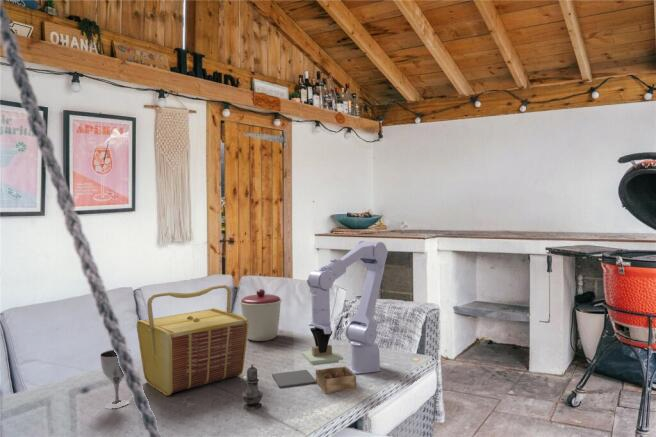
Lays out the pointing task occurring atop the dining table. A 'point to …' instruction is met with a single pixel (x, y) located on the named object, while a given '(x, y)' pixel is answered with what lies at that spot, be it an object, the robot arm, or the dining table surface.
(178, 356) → the picnic basket
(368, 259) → the robot arm
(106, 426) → the dining table surface
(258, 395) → the salt shaker
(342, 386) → the box
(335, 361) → the lid
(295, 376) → the mat
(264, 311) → the canister
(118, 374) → the wine glass
